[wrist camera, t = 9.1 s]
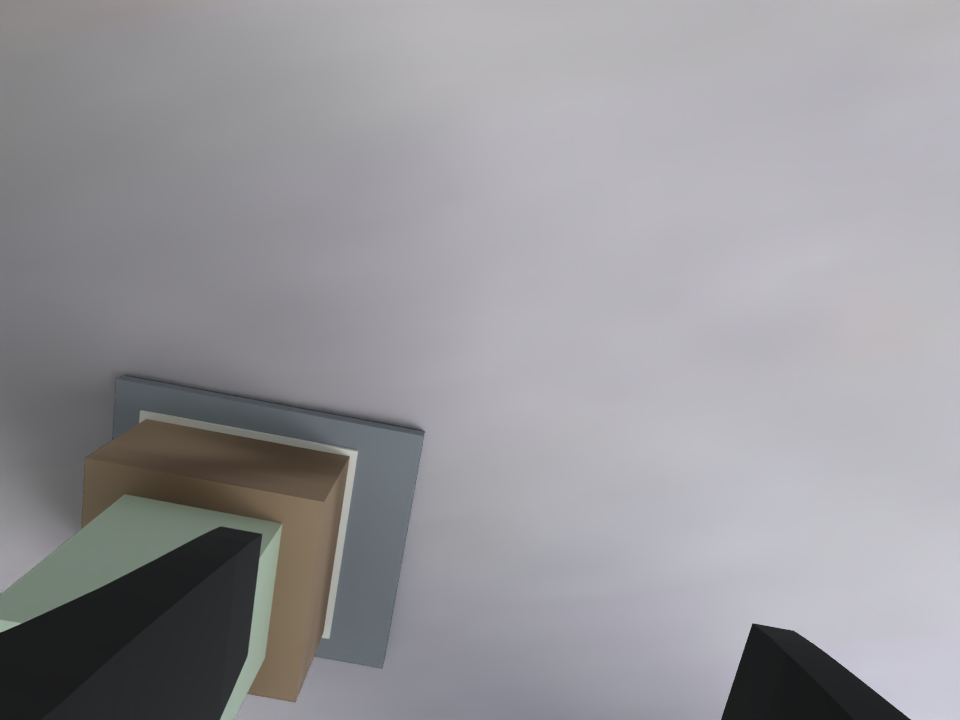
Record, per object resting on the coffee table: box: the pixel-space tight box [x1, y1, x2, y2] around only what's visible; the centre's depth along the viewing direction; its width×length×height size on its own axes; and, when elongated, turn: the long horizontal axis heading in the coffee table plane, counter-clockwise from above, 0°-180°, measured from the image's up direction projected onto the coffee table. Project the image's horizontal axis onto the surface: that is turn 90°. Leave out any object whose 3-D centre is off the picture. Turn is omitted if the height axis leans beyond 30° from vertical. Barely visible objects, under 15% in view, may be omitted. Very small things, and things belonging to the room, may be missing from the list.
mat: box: [112, 375, 425, 668], centre depth 21 cm, size 9×8×1 cm
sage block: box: [0, 494, 282, 720], centre depth 15 cm, size 4×4×5 cm
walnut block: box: [82, 419, 350, 702], centre depth 19 cm, size 6×6×3 cm
